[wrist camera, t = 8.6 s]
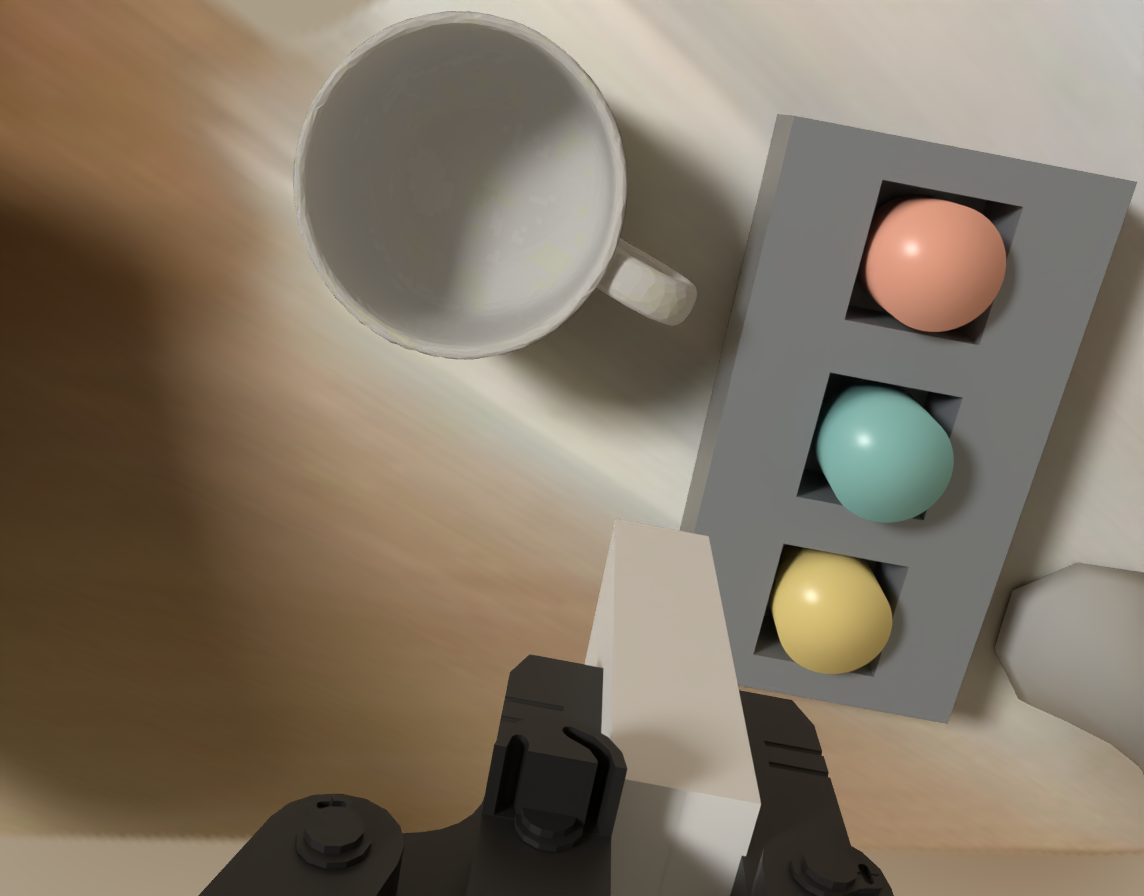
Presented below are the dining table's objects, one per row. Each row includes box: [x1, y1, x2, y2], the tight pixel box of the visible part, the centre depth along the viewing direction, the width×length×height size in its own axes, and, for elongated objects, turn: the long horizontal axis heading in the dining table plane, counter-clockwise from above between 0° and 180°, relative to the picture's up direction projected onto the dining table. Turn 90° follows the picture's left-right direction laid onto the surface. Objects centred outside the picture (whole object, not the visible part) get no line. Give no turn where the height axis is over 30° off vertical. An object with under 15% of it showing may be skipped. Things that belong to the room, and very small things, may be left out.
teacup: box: [293, 11, 697, 359], centre depth 37 cm, size 14×11×8 cm
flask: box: [995, 563, 1144, 774], centre depth 41 cm, size 7×7×10 cm
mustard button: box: [768, 545, 892, 674], centre depth 42 cm, size 4×4×4 cm
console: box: [680, 114, 1137, 724], centre depth 41 cm, size 12×22×4 cm, turn 170°
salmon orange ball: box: [856, 194, 1006, 332], centre depth 37 cm, size 4×4×4 cm
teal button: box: [811, 380, 954, 523], centre depth 39 cm, size 4×4×4 cm
